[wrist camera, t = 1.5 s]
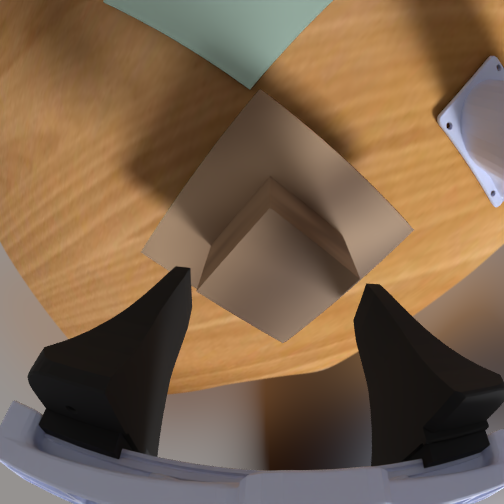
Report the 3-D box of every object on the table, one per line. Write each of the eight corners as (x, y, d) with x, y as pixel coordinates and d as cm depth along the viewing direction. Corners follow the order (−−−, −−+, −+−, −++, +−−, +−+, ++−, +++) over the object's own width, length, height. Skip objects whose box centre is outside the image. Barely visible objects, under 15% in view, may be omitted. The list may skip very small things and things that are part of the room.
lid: (407, 222, 17) (444, 269, 12) (284, 331, 21) (286, 390, 17) (260, 88, 14) (256, 90, 9) (146, 243, 18) (113, 294, 14)
